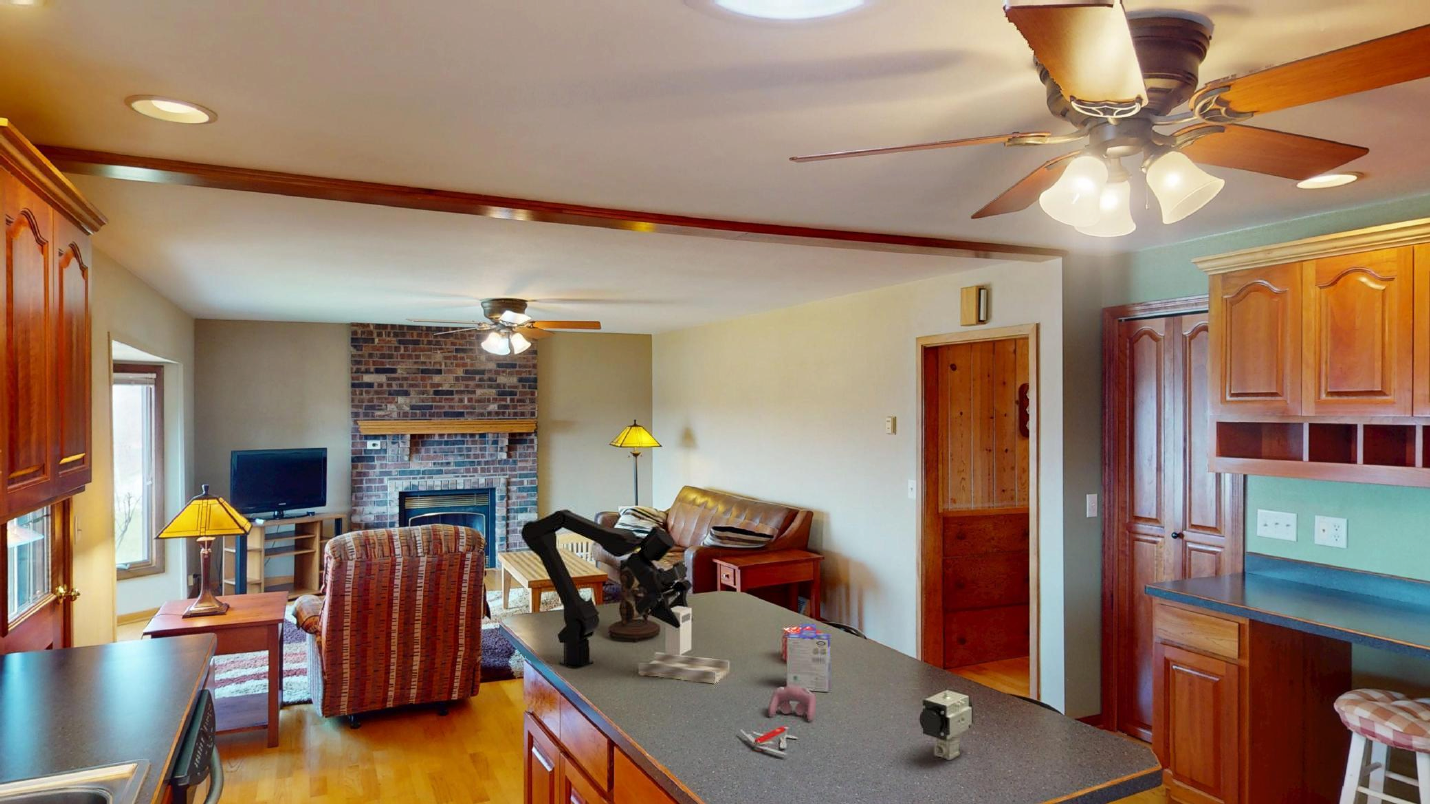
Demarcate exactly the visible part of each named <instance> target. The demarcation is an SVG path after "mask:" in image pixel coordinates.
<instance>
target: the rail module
mask: <svg viewBox="0 0 1430 804" xmlns="http://www.w3.org/2000/svg"><path fill="white" fill-rule="evenodd" d="M671 610H672V611H673V613H674V615H675V616H676V618H677V619H678V621H679V623H680V625H681V626H680V627H679V628H675V627H674V626H672V625H670V624H668V623H666V622H665V645H664V647H665V648H664V649H665V653H667V654H675V655H683V654H685V653H686V652H688V651H689V652H690V651H691V650H692V622H693V621H692V619H693V616H692V613H693V611H692V610H693V609H692V607H689V606H688V607H682V606H676V607H674V608H671Z"/></svg>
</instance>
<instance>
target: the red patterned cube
mask: <svg viewBox="0 0 1430 804" xmlns="http://www.w3.org/2000/svg"><path fill="white" fill-rule="evenodd" d="M803 629H804V630H814V628H812V627H804V628H803ZM781 630H782V632H781V634H782V635H781V636H782V639H781V640H782V641H781V644H782V645H781V646H782V654H781V656H782V657H781V659H782V660H784V661H786V662H787V637H788V635H789V633H800V632H801V626H791V627H783V628H781ZM817 634H824V633H823V632H821V631H820V630H818V629H817Z"/></svg>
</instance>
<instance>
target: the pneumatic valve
mask: <svg viewBox="0 0 1430 804" xmlns="http://www.w3.org/2000/svg"><path fill="white" fill-rule="evenodd" d="M973 723H974V706H973V702H972V701H971V694H967V693H963V692H960V691H957V690H952V689H949V688H948V689H946V690H944V691H942V692H939V693H937V694H935V695H932V696H930V697H927V698H925V699H923V700H922V711H921V712H920V714H919V724H920V727H921V728H922V735H927V736H929V737H932V738H934V739H933V741H934V743H935V744H934V747H933V751H934V752H933V753H934V754H933V755H934V756H935V757H941V758H943V759H946V760H947V761H951V760H953V759H955V758H957V757H958V756H960V750H959V747H960V738H959V737H957V735H959V734H961V733H963V732H965V731H967V730H969V729H971V725H972V724H973Z"/></svg>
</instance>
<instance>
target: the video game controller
mask: <svg viewBox="0 0 1430 804" xmlns="http://www.w3.org/2000/svg"><path fill="white" fill-rule="evenodd" d="M791 702H798V703H797V704H796V705H795V707H794V708H795V709H794V712H795V714H797V716H800V717H804V716H805V715H806V718H807V720H808V722H809V723H811V722H813V720H814V718H815V713H816V709H817V708H816V707H817V705H816V704H817V697H816V695H815V694H814V693H813V692H812V691H809V690H806V689H804V688H801V687H795V686H787V685H786V686H780V687H777V689H775V690H774V692H772V695H771V697H770V701H769V704H768V716H769V718H773V717H774V716H775V715H776V713H777V711H778V708H780V711H781V712H782V714H784V715H789V714H791V712H792V711H793V708H792V707H793V706H792V705H791ZM803 715H804V716H803Z"/></svg>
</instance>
